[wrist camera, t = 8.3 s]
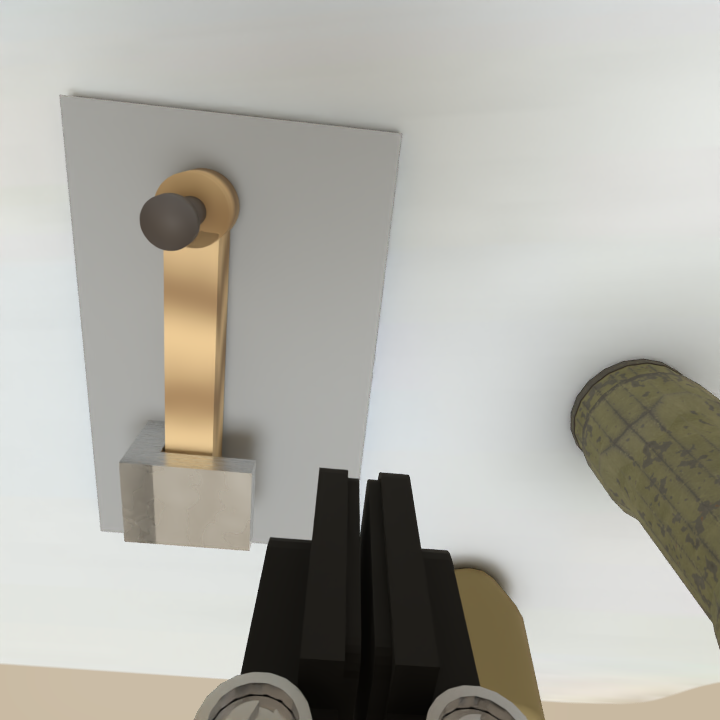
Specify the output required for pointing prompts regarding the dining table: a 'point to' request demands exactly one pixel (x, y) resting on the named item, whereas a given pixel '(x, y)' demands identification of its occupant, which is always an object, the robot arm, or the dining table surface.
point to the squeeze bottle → (499, 641)
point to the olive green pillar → (659, 464)
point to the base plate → (236, 288)
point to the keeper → (185, 495)
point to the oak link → (193, 302)
